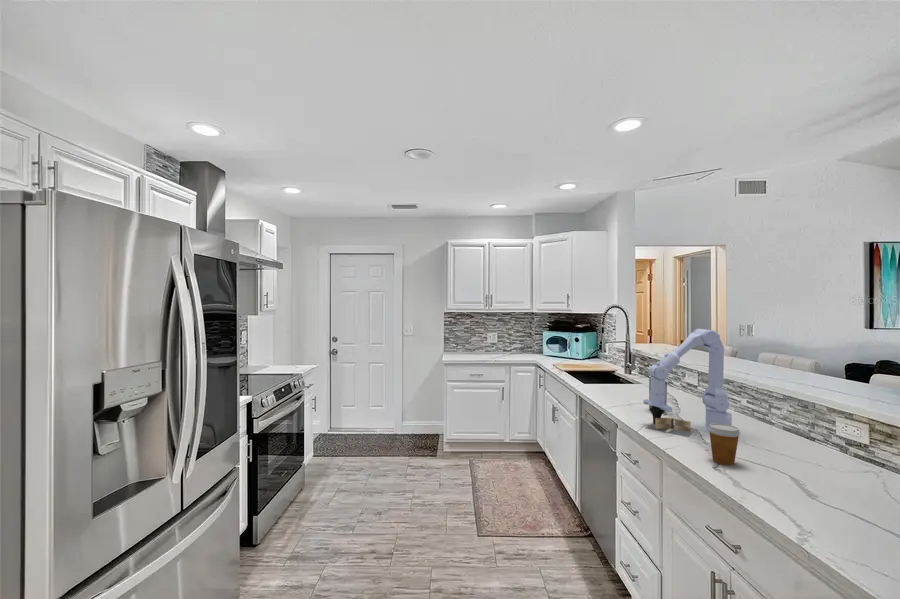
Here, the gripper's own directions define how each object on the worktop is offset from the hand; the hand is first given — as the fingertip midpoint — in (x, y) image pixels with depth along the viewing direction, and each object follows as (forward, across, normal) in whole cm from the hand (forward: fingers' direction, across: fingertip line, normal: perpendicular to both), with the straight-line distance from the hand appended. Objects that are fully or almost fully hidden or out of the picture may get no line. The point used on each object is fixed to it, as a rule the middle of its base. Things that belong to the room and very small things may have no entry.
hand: (656, 424), depth 184 cm
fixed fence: (+2, +6, +8) cm, 10 cm away
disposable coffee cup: (+2, +37, -5) cm, 37 cm away
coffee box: (+2, -25, +23) cm, 34 cm away
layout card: (+2, +2, +6) cm, 6 cm away
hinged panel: (+1, +2, +3) cm, 3 cm away
